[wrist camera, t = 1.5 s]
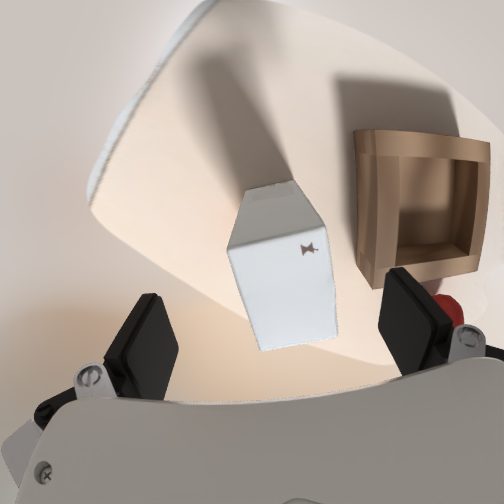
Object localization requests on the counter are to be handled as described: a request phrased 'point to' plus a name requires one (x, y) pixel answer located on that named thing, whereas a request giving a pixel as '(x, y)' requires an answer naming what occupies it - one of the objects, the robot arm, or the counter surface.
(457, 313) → the onion
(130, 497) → the robot arm
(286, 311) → the skincare box
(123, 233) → the counter surface
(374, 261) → the wooden tray
